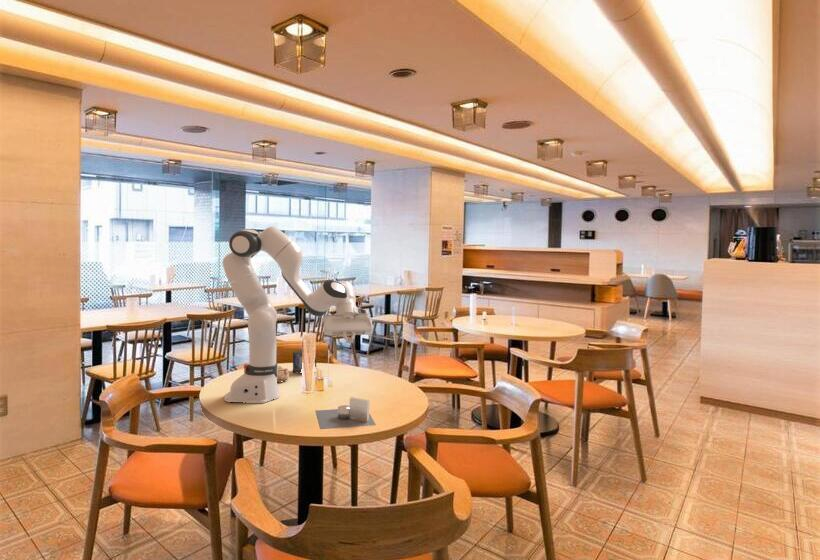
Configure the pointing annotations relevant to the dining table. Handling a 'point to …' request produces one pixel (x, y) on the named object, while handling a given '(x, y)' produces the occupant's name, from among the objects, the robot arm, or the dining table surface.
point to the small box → (298, 361)
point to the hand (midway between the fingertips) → (349, 342)
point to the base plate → (339, 420)
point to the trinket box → (282, 373)
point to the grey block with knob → (355, 409)
